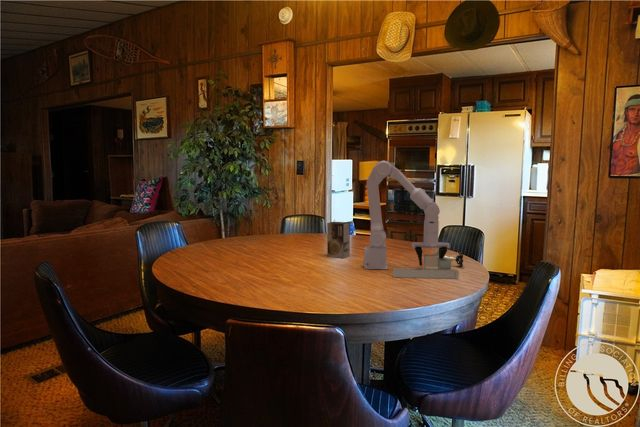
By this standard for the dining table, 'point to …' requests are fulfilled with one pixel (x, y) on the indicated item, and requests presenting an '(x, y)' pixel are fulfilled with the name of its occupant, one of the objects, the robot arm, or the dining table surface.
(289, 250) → the dining table surface
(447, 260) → the rail
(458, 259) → the valve
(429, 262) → the block
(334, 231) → the coffee box
